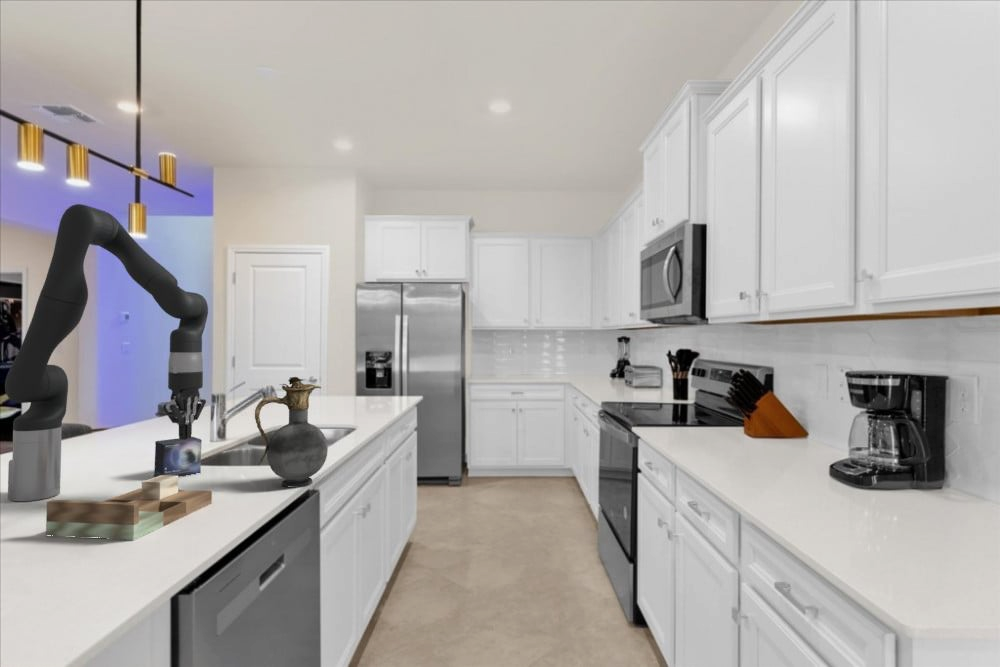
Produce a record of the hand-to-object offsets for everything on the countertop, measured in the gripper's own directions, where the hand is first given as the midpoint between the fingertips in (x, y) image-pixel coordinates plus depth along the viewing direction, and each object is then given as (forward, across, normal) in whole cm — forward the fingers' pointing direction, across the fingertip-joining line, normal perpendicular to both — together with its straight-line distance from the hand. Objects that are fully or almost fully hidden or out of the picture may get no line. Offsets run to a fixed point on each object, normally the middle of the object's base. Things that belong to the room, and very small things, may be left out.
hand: (185, 438), depth 131 cm
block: (+12, +8, 0) cm, 14 cm away
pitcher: (+15, -15, +20) cm, 30 cm away
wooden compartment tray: (+15, +15, 0) cm, 21 cm away
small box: (+15, -21, -18) cm, 31 cm away
